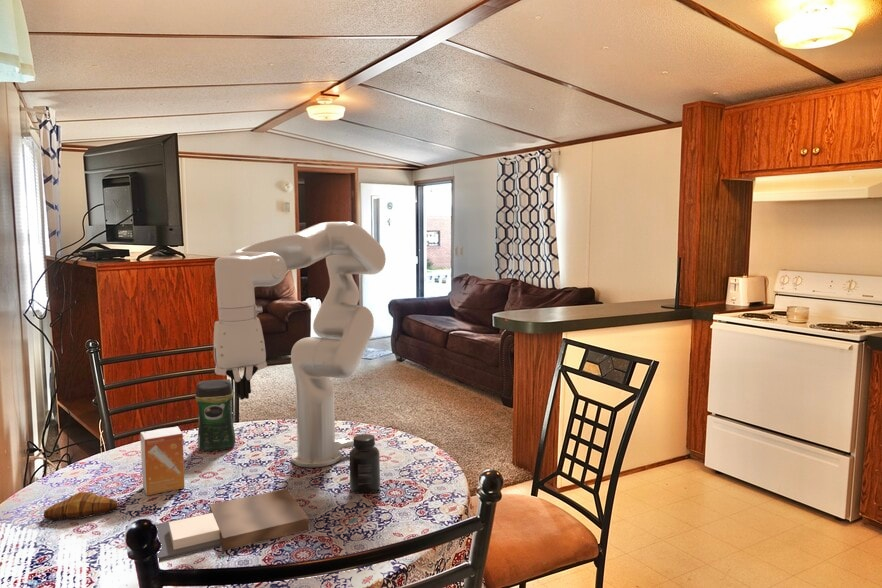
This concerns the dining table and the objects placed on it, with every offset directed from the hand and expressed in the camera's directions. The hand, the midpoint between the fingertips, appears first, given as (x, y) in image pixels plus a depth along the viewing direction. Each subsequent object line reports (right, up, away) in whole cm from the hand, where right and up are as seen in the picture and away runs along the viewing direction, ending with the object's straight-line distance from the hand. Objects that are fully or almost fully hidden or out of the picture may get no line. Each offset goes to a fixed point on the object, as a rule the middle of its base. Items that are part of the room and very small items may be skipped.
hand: (243, 397), depth 131 cm
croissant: (-32, -24, -6) cm, 40 cm away
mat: (-6, -24, -15) cm, 29 cm away
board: (+6, -24, -9) cm, 26 cm away
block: (-4, -24, -16) cm, 29 cm away
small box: (-21, -22, +8) cm, 31 cm away
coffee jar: (-18, -20, +34) cm, 43 cm away
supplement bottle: (+25, -22, +7) cm, 34 cm away
